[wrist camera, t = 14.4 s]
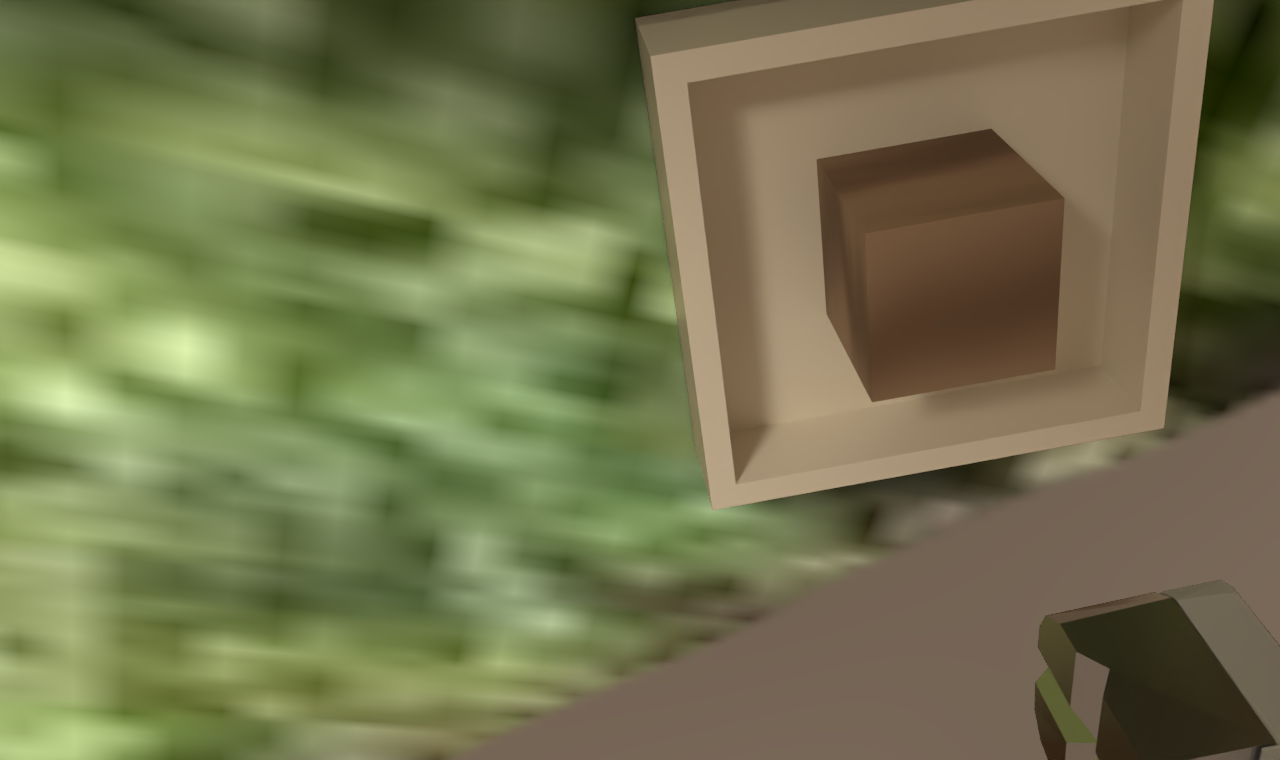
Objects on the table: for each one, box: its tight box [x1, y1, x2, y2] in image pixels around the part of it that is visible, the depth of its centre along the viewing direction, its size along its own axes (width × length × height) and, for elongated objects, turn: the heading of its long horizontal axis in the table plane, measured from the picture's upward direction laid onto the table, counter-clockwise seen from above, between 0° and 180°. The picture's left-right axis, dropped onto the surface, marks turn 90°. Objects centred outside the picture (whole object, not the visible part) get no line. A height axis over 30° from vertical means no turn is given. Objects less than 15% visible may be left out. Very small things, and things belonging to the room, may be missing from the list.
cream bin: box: [635, 0, 1214, 510], centre depth 34 cm, size 14×14×4 cm
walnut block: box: [817, 129, 1065, 402], centre depth 33 cm, size 5×5×5 cm
